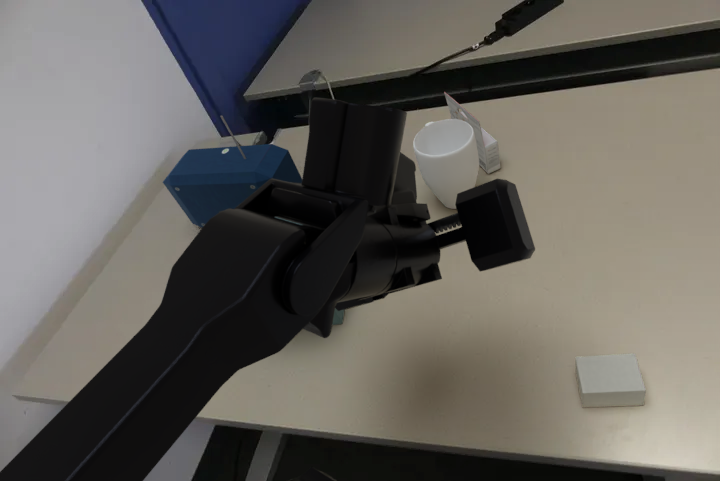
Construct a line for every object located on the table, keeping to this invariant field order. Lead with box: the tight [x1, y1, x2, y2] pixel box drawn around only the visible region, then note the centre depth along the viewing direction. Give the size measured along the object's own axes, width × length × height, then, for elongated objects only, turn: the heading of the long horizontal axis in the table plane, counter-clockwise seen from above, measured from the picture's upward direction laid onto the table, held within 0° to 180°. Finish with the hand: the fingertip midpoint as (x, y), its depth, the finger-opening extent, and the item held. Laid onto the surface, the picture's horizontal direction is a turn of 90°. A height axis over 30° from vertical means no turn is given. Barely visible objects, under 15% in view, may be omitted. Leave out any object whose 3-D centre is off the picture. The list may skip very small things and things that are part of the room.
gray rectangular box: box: [574, 352, 647, 408], centre depth 52 cm, size 4×6×3 cm
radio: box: [162, 115, 303, 229], centre depth 83 cm, size 21×9×20 cm, turn 72°
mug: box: [412, 118, 480, 210], centre depth 75 cm, size 12×8×11 cm
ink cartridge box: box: [443, 91, 501, 175], centre depth 80 cm, size 2×11×10 cm, turn 20°
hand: (458, 246), depth 50 cm, fingers open, 9 cm apart
